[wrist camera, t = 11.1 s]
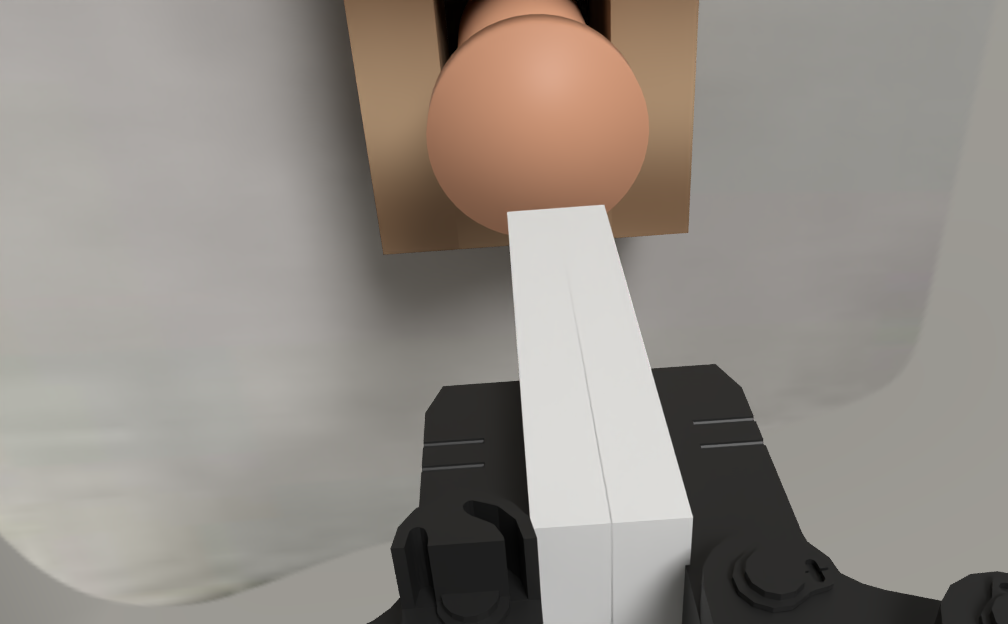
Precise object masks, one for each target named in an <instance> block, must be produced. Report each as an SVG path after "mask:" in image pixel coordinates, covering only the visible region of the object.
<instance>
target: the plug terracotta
mask: <svg viewBox="0 0 1008 624" xmlns="http://www.w3.org/2000/svg"><path fill="white" fill-rule="evenodd" d="M426 138H427V150H428V155H429V160H430V163H431V166H432V169H433V172H434V174H435V176H436V178H437V181H438V183H439V185H440V186H441V188H442V189H443V191H444V192H445V194H446V195H447V197H448V198H449V199H450V200H451V201H452V202H453V203H454V204H455V206H456V207H457V208H459V209H460V210H461V211H462V212H463V213H464V214H465V215H467V216H468V217H470V218H471V219H473V220H474V221H476V222H477V223H479V224H481V225H483V226H485V227H487V228H489V229H491V230H494V231H497V232H500V233H503V234H507V235H509V232H508V218H507V212H512V211H525V210H539V209H552V208H566V207H579V206H593V205H605V209H606V212H609V211H610V210H611V209H612V208H613V207H614V206H615V205H617V204H618V202H619V201H620V200H621V199H622V198H623V197H624V196H625V195H626V193H627V192H628V190H629V189H630V188H631V186H632V185H633V183H634V181H635V180H636V178H637V176H638V174H639V172H640V170H641V167H642V164H643V162H644V159H645V155H646V151H647V146H648V138H649V116H648V111H647V106H646V101H645V99H644V96H643V93H642V90H641V88H640V86H639V84H638V81H637V79H636V77H635V75H634V73H633V72H632V70H631V68H630V66H629V64H628V62H627V61H626V59H625V58H624V56H623V55H622V54H621V52H620V51H619V50H618V49H617V48H616V47H615V46H614V45H613V44H612V43H611V42H610V41H609V40H608V39H607V38H605V37H604V36H603V35H602V34H600V33H599V32H597V31H596V30H594V29H592V28H591V27H589V26H587V25H586V24H585V21H584V19H583V16H582V14H581V11H580V9H579V7H578V5H577V3H576V1H575V0H469V1H468V2H467V4H466V6H465V8H464V11H463V13H462V16H461V20H460V24H459V35H458V49H457V50H456V51H455V52H454V53H453V54H452V55H451V57H450V58H449V59H448V61H447V62H446V63H445V65H444V67H443V68H442V70H441V72H440V74H439V76H438V78H437V80H436V83H435V86H434V88H433V91H432V95H431V100H430V104H429V111H428V119H427V130H426Z"/></svg>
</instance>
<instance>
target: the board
mask: <svg viewBox="0 0 1008 624" xmlns="http://www.w3.org/2000/svg"><path fill="white" fill-rule="evenodd" d="M344 5H345V12H346V18H347V25H348V31H349V37H350V44H351V50H352V57H353V63H354V69H355V76H356V82H357V89H358V95H359V101H360V108H361V114H362V121H363V127H364V133H365V140H366V146H367V153H368V159H369V165H370V172H371V178H372V185H373V191H374V197H375V204H376V210H377V217H378V223H379V229H380V236H381V242H382V249H383V255H385V254H399V253H413V252H427V251H441V250H455V249H469V248H483V247H497V246H509V235H507V234H503V233H500V232H497V231H494V230H491V229H489V228H487V227H485V226H483V225H481V224H479V223H477V222H476V221H474V220H473V219H471V218H470V217H468V216H467V215H465V214H464V213H463V212H462V211H461V210H460V209H459V208H457V207H456V206H455V204H454V203H453V202H452V201H451V200H450V199H449V198H448V197H447V195H446V194H445V192H444V191H443V189H442V188H441V186H440V185H439V183H438V181H437V178H436V176H435V174H434V172H433V169H432V166H431V163H430V160H429V155H428V150H427V138H426V130H427V119H428V111H429V104H430V100H431V95H432V91H433V88H434V86H435V83H436V80H437V78H438V76H439V74H440V72H441V70H442V68H443V67H444V65H445V63H446V62H447V61H448V59H449V58H450V51H449V41H448V31H447V21H446V11H445V1H444V0H344ZM698 7H699V0H589V27H591V28H592V29H594V30H596V31H597V32H599V33H600V34H602V35H603V36H604V37H605V38H607V39H608V40H609V41H610V42H611V43H612V44H613V45H614V46H615V47H616V48H617V49H618V50H619V51H620V52H621V54H622V55H623V56H624V58H625V59H626V61H627V62H628V64H629V66H630V68H631V70H632V72H633V73H634V75H635V77H636V79H637V81H638V84H639V86H640V88H641V90H642V93H643V96H644V99H645V101H646V106H647V111H648V116H649V138H648V146H647V151H646V155H645V159H644V162H643V164H642V167H641V170H640V172H639V174H638V176H637V178H636V180H635V181H634V183H633V185H632V186H631V188H630V189H629V190H628V192H627V193H626V195H625V196H624V197H623V198H622V199H621V200H620V201H619V202H618V204H617V205H615V206H614V207H613V208H612V209H611V210H610V211H609V212H607V216H608V220H609V223H610V227H611V230H612V234H613V237H614V238H622V237H636V236H650V235H663V234H677V233H688V226H689V205H690V183H691V161H692V139H693V117H694V95H695V73H696V51H697V29H698Z"/></svg>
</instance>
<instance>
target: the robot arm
mask: <svg viewBox="0 0 1008 624" xmlns="http://www.w3.org/2000/svg"><path fill="white" fill-rule="evenodd" d="M507 218H508V232H509V246H510V259H511V273H512V287H513V301H514V315H515V329H516V343H517V357H518V370H519V381H510V382H496V383H482V384H468V385H454V386H443V387H442V389H441V390H440V392H439V393H438V395H437V396H436V398H435V399H434V401H433V402H432V404H431V405H430V407H429V408H428V410H427V411H426V413H425V428H424V448H423V457H422V472H421V487H420V502H419V507H418V508H416V509H415V510H414V511H413V512H412V513H411V514H410V515H409V516H408V517H407V518H406V519H405V520H404V522H403V523H402V524H401V525H400V526H399V527H398V529H397V532H396V535H395V537H394V540H393V543H392V546H391V553H392V559H393V563H394V569H395V574H396V579H397V584H398V590H399V594H400V598H399V599H398V600H397V602H396V603H395V604H394V605H393V606H392V607H391V608H390V609H389V610H387V611H386V612H385V613H383V614H382V615H381V616H379V617H378V618H376V619H375V620H374V621H372V622H370V623H367V624H1008V573H1004V572H998V571H997V572H987V573H977V574H970V575H968V576H966V577H964V578H963V579H961V580H959V581H957V582H955V583H953V584H952V585H950V587H949V589H948V591H947V593H946V594H945V596H944V598H943V600H942V601H939V600H934V599H929V598H923V597H919V596H914V595H908V594H903V593H898V592H893V591H887V590H883V589H880V588H876V587H873V586H869V585H866V584H862V583H860V582H858V581H856V580H854V579H852V578H850V577H848V576H845V575H843V574H841V573H840V572H839V571H838V569H837V568H836V566H835V565H834V564H833V562H832V561H831V559H830V558H829V557H828V556H826V555H825V554H824V553H822V552H821V551H820V550H818V549H817V548H815V547H814V546H813V545H811V544H810V543H809V542H807V541H806V539H805V537H804V536H803V534H802V532H801V529H800V527H799V524H798V522H797V520H796V517H795V515H794V512H793V510H792V508H791V505H790V503H789V501H788V498H787V495H786V493H785V491H784V488H783V486H782V483H781V481H780V479H779V476H778V474H777V471H776V469H775V467H774V464H773V462H772V459H771V457H770V455H769V452H768V450H767V447H766V446H765V445H764V444H763V438H762V435H761V433H760V430H759V428H758V426H757V423H756V422H754V418H753V414H752V411H751V409H750V406H749V404H748V402H747V399H746V397H745V394H744V392H743V389H742V387H741V386H739V385H738V384H737V383H736V382H735V381H734V380H733V379H732V378H730V377H729V376H728V375H727V374H726V373H725V372H724V371H723V370H721V369H720V368H719V367H718V366H717V365H716V364H710V365H696V366H682V367H668V368H654V369H651V368H650V364H649V360H648V357H647V353H646V350H645V346H644V343H643V339H642V336H641V332H640V329H639V325H638V322H637V318H636V315H635V311H634V308H633V304H632V301H631V297H630V294H629V290H628V286H627V283H626V279H625V276H624V272H623V269H622V265H621V262H620V258H619V255H618V251H617V248H616V244H615V241H614V237H613V234H612V230H611V227H610V223H609V220H608V216H607V212H606V209H605V205H593V206H579V207H566V208H552V209H539V210H525V211H512V212H507Z"/></svg>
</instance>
